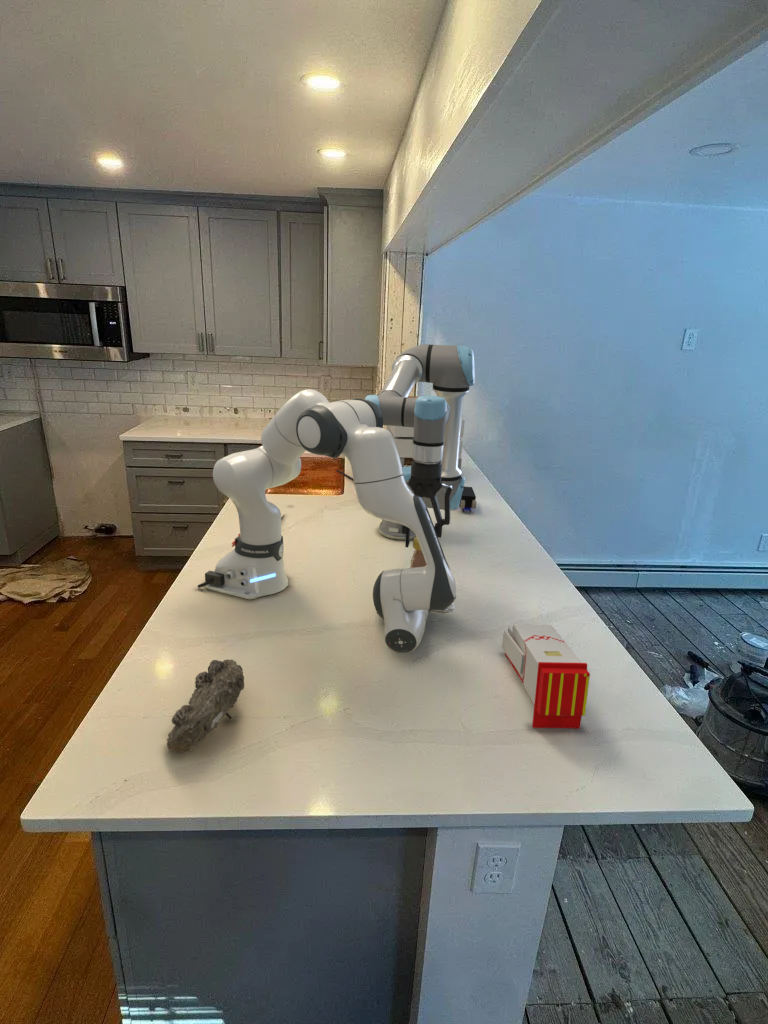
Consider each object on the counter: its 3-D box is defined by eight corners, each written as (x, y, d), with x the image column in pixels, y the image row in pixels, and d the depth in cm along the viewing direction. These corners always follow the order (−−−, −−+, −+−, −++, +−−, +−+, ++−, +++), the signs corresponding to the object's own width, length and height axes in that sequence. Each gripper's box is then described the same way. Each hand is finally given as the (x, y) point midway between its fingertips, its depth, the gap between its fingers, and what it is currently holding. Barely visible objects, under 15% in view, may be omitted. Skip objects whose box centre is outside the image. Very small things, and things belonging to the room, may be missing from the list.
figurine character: (476, 517, 222) (470, 501, 236) (478, 500, 219) (472, 484, 232) (459, 517, 222) (454, 501, 236) (461, 499, 219) (456, 484, 232)
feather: (291, 508, 223) (294, 504, 222) (274, 533, 196) (277, 528, 195) (287, 506, 222) (290, 502, 222) (270, 530, 196) (272, 526, 195)
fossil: (192, 660, 117) (244, 628, 112) (224, 691, 120) (276, 661, 115) (142, 746, 98) (202, 712, 93) (182, 779, 101) (242, 748, 96)
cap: (426, 552, 144) (426, 544, 144) (410, 549, 146) (411, 541, 145) (430, 546, 148) (431, 538, 147) (415, 543, 149) (416, 535, 149)
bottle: (404, 603, 153) (408, 540, 147) (417, 598, 156) (421, 536, 150) (416, 610, 149) (420, 546, 143) (429, 605, 152) (434, 542, 146)
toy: (548, 608, 134) (599, 669, 104) (543, 661, 136) (591, 735, 107) (497, 607, 133) (533, 668, 104) (493, 660, 136) (527, 734, 107)
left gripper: (454, 601, 136) (458, 576, 149) (371, 590, 139) (382, 567, 152) (452, 624, 138) (456, 597, 151) (370, 613, 141) (381, 588, 154)
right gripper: (467, 460, 141) (459, 545, 149) (390, 453, 144) (386, 537, 152) (466, 467, 134) (457, 556, 142) (385, 460, 137) (381, 548, 145)
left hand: (418, 582), depth 151 cm, fingers closed on bottle, 5 cm apart
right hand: (420, 546), depth 147 cm, fingers open, 6 cm apart
